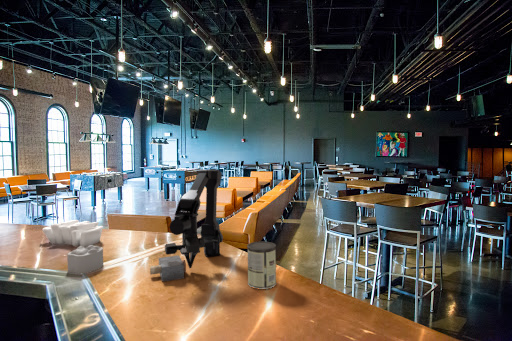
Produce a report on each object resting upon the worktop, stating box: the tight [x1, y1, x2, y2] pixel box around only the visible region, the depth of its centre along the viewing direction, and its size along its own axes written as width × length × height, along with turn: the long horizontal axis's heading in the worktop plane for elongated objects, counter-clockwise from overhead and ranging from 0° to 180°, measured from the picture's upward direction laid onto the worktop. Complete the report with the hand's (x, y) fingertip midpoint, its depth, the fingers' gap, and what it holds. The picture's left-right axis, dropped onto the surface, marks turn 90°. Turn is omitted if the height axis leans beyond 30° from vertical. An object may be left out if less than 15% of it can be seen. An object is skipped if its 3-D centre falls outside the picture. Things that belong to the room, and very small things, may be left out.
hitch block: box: [158, 255, 185, 282], centre depth 122 cm, size 8×12×5 cm, turn 22°
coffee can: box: [246, 240, 277, 290], centre depth 113 cm, size 10×10×14 cm
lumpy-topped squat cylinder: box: [67, 244, 104, 275], centre depth 130 cm, size 10×13×9 cm
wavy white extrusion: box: [41, 219, 104, 248], centre depth 169 cm, size 35×16×11 cm, turn 65°
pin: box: [149, 259, 187, 275], centre depth 122 cm, size 13×5×5 cm, turn 112°
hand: (190, 267), depth 125 cm, fingers closed
